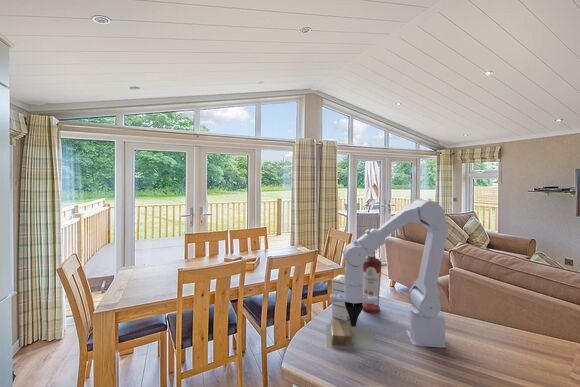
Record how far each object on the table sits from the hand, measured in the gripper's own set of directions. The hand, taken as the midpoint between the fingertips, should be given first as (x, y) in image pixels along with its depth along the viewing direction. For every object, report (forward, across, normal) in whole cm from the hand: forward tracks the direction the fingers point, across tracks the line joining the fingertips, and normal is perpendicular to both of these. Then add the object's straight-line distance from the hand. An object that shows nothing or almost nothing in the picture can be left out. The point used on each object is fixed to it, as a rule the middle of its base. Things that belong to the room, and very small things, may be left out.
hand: (353, 324), depth 90 cm
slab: (+3, +1, 0) cm, 3 cm away
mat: (+5, +1, 0) cm, 5 cm away
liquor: (+5, -9, -20) cm, 22 cm away
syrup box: (+5, +2, -14) cm, 15 cm away
